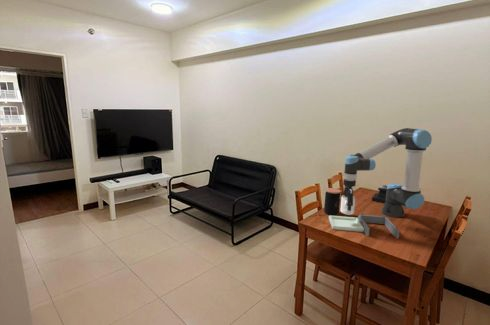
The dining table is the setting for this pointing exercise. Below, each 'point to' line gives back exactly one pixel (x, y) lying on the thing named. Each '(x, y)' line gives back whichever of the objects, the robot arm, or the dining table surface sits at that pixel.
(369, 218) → the bay
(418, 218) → the dining table surface
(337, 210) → the coffee jar
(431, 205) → the dining table surface
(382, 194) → the camera
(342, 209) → the mug
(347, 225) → the tray
